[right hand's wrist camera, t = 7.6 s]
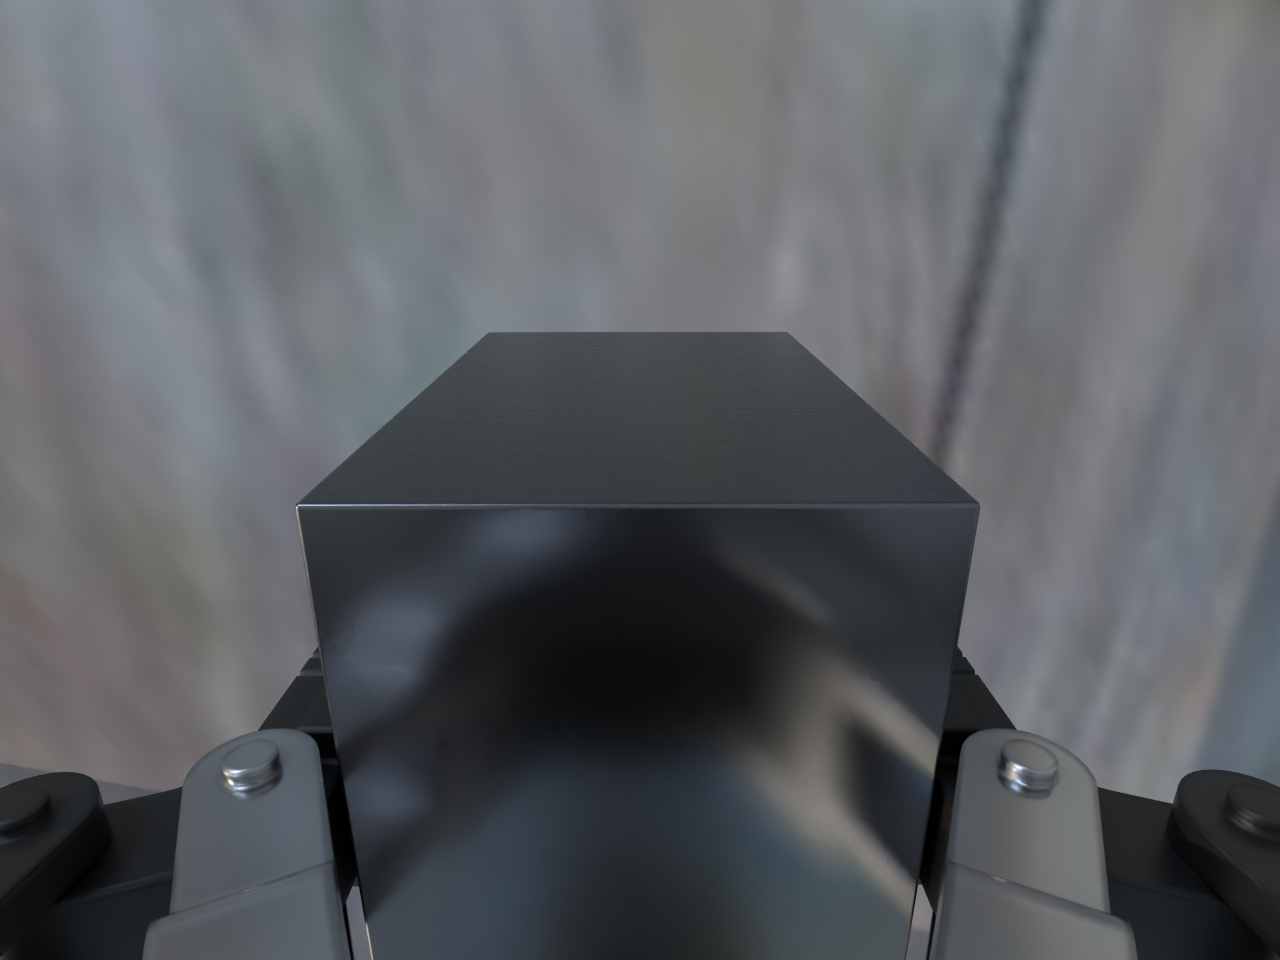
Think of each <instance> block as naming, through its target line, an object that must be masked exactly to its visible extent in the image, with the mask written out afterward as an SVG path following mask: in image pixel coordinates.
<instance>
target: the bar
mask: <svg viewBox="0 0 1280 960" xmlns="http://www.w3.org/2000/svg"><path fill="white" fill-rule="evenodd" d="M979 510H980V506H979V502H977V501H976V500H975V499H974V498H973V497H972V496H971V495H970V494H969V493H967V492H966V491H965V490H964V489H963V488H962V487H961V486H960V485H958V484H957V483H956V482H955V481H954V480H953V479H952V478H951V477H949V476H948V475H947V474H946V473H945V472H944V471H943V470H942V469H940V468H939V467H938V466H937V465H936V464H935V463H934V462H933V461H931V460H930V459H929V458H928V457H927V456H926V455H925V454H924V453H923V452H921V451H920V450H919V449H918V448H917V447H916V446H915V445H914V444H912V443H911V442H910V441H909V440H908V439H907V438H906V437H905V436H903V435H902V434H901V433H900V432H899V431H898V430H897V429H896V428H894V427H893V426H892V425H891V424H890V423H889V422H888V421H887V420H885V419H884V418H883V417H882V416H881V415H880V414H879V413H878V412H876V411H875V410H874V409H873V408H872V407H871V406H870V405H869V404H868V403H866V402H865V401H864V400H863V399H862V398H861V397H860V396H859V395H857V394H856V393H855V392H854V391H853V390H852V389H851V388H850V387H848V386H847V385H846V384H845V383H844V382H843V381H842V380H841V379H839V378H838V377H837V376H836V375H835V374H834V373H833V372H832V371H830V370H829V369H828V368H827V367H826V366H825V365H824V364H823V363H821V362H820V361H819V360H818V359H817V358H816V357H815V356H814V355H813V354H811V353H810V352H809V351H808V350H807V349H806V348H805V347H804V346H802V345H801V344H800V343H799V342H798V341H797V340H796V339H795V338H793V337H792V336H791V335H790V334H789V333H787V332H490V333H488V334H486V335H485V336H484V337H483V338H482V339H481V340H480V341H479V342H477V343H476V344H475V345H474V346H473V347H472V348H471V349H470V350H468V351H467V352H466V353H465V354H464V355H463V356H462V357H461V358H459V359H458V360H457V361H456V362H455V363H454V364H453V365H452V366H450V367H449V368H448V369H447V370H446V371H445V372H444V373H443V374H441V375H440V376H439V377H438V378H437V379H436V380H435V381H434V382H433V383H431V384H430V385H429V386H428V387H427V388H426V389H425V390H424V391H422V392H421V393H420V394H419V395H418V396H417V397H416V398H415V399H413V400H412V401H411V402H410V403H409V404H408V405H407V406H406V407H404V408H403V409H402V410H401V411H400V412H399V413H398V414H397V415H395V416H394V417H393V418H392V419H391V420H390V421H389V422H388V423H386V424H385V425H384V426H383V427H382V428H381V429H380V430H379V431H378V432H376V433H375V434H374V435H373V436H372V437H371V438H370V439H369V440H367V441H366V442H365V443H364V444H363V445H362V446H361V447H360V448H358V449H357V450H356V451H355V452H354V453H353V454H352V455H351V456H349V457H348V458H347V459H346V460H345V461H344V462H343V463H342V464H340V465H339V466H338V467H337V468H336V469H335V470H334V471H333V472H332V473H330V474H329V475H328V476H327V477H326V478H325V479H324V480H323V481H321V482H320V483H319V484H318V485H317V486H316V487H315V488H314V489H312V490H311V491H310V492H309V493H308V494H307V495H306V496H305V497H303V498H302V499H301V500H300V501H299V502H298V503H297V504H296V507H295V512H296V518H297V523H298V529H299V535H300V541H301V547H302V553H303V559H304V565H305V571H306V577H307V582H308V588H309V594H310V600H311V606H312V612H313V618H314V624H315V630H316V635H317V641H318V647H319V653H320V659H321V665H322V671H323V677H324V683H325V689H326V694H327V700H328V706H329V712H330V718H331V724H332V730H333V736H334V742H335V747H336V753H337V759H338V765H339V771H340V777H341V783H342V789H343V795H344V801H345V806H346V812H347V818H348V824H349V830H350V836H351V842H352V848H353V854H354V859H355V865H356V871H357V877H358V883H359V889H360V895H361V901H362V907H363V913H364V918H365V924H366V930H367V936H368V942H369V948H370V954H371V960H906V954H907V948H908V942H909V936H910V930H911V924H912V918H913V912H914V906H915V899H916V893H917V887H918V881H919V875H920V869H921V863H922V857H923V851H924V845H925V839H926V833H927V826H928V820H929V814H930V808H931V802H932V796H933V790H934V784H935V778H936V772H937V766H938V760H939V753H940V747H941V741H942V735H943V729H944V723H945V717H946V711H947V705H948V699H949V693H950V686H951V680H952V674H953V668H954V662H955V656H956V650H957V644H958V638H959V632H960V626H961V620H962V613H963V607H964V601H965V595H966V589H967V583H968V577H969V571H970V565H971V559H972V553H973V546H974V540H975V534H976V528H977V522H978V516H979Z"/></svg>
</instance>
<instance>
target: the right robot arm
mask: <svg viewBox="0 0 1280 960" xmlns="http://www.w3.org/2000/svg"><path fill="white" fill-rule="evenodd" d="M918 884H922V885H923V888H924V890H925V893H926V895H927V898H928V900H929V902H930V905H931V907H932V910H933V911H932V917H931V922H930V928H929V935H928V942H927V949H926V956H925V960H1280V787H1278V786H1275V785H1273V784H1271V783H1268V782H1266V781H1263V780H1260V779H1258V778H1255V777H1252V776H1248V775H1244V774H1240V773H1236V772H1230V771H1224V770H1200V771H1195V772H1192V773H1190V774H1187V775H1186V776H1185V777H1184V778H1182V779H1181V781H1180V783H1179V785H1178V788H1177V792H1176V795H1175V798H1174V802H1173V804H1171V803H1166V802H1161V801H1157V800H1152V799H1148V798H1143V797H1139V796H1134V795H1129V794H1125V793H1120V792H1116V791H1111V790H1107V789H1103V788H1100V787H1097V784H1096V780H1095V778H1094V776H1093V774H1092V772H1091V771H1090V770H1089V769H1088V767H1087V766H1086V765H1085V764H1084V763H1083V762H1082V761H1081V760H1080V759H1079V758H1078V757H1077V756H1075V755H1074V754H1073V753H1071V752H1070V751H1069V750H1067V749H1065V748H1064V747H1062V746H1061V745H1059V744H1057V743H1055V742H1053V741H1051V740H1049V739H1046V738H1044V737H1041V736H1039V735H1035V734H1032V733H1029V732H1024V731H1020V730H1017V729H1016V728H1015V727H1014V725H1013V724H1012V722H1011V721H1010V719H1009V718H1008V717H1007V715H1006V714H1005V712H1004V711H1003V710H1002V708H1001V707H1000V705H999V704H998V703H997V701H996V700H995V698H994V697H993V696H992V694H991V693H990V691H989V690H988V688H987V687H986V686H985V684H984V683H983V681H982V680H981V679H980V677H979V676H978V675H975V670H974V669H973V667H972V666H971V665H970V663H969V662H968V660H967V659H966V657H962V652H961V650H960V649H959V648H958V646H957V650H956V656H955V662H954V668H953V674H952V680H951V686H950V693H949V699H948V705H947V711H946V717H945V723H944V729H943V735H942V741H941V747H940V753H939V760H938V766H937V772H936V778H935V784H934V790H933V796H932V802H931V808H930V814H929V820H928V826H927V833H926V839H925V845H924V851H923V857H922V863H921V869H920V875H919V881H918ZM352 886H359V883H358V877H357V871H356V865H355V859H354V854H353V848H352V842H351V836H350V830H349V824H348V818H347V812H346V806H345V801H344V795H343V789H342V783H341V777H340V771H339V765H338V759H337V753H336V747H335V742H334V736H333V730H332V724H331V718H330V712H329V706H328V700H327V694H326V689H325V683H324V677H323V671H322V665H321V659H320V653H319V647H317V649H316V650H315V652H314V653H313V658H310V659H309V660H308V661H307V663H306V664H305V666H304V667H303V668H302V670H301V671H300V676H297V677H296V678H295V679H294V681H293V682H292V684H291V685H290V686H289V688H288V689H287V691H286V692H285V693H284V695H283V696H282V698H281V699H280V700H279V702H278V703H277V705H276V706H275V707H274V709H273V710H272V712H271V713H270V714H269V716H268V717H267V718H266V720H265V721H264V723H263V724H262V725H261V727H260V728H259V730H258V731H256V732H251V733H248V734H245V735H241V736H239V737H236V738H234V739H231V740H229V741H227V742H225V743H223V744H221V745H219V746H218V747H216V748H215V749H213V750H211V751H210V752H209V753H207V754H206V755H205V756H203V757H202V758H201V759H200V760H199V761H198V762H197V763H196V764H195V765H194V766H193V767H192V769H191V770H190V771H189V772H188V774H187V776H186V778H185V780H184V784H183V786H182V787H180V788H177V789H173V790H169V791H165V792H162V793H157V794H152V795H148V796H143V797H139V798H134V799H130V800H125V801H120V802H116V803H111V804H107V805H104V803H103V800H102V797H101V794H100V790H99V787H98V785H97V783H96V782H95V781H94V780H93V779H92V778H91V777H89V776H86V775H84V774H80V773H75V772H58V773H49V774H43V775H38V776H34V777H31V778H27V779H24V780H21V781H18V782H15V783H12V784H10V785H7V786H5V787H2V788H0V960H355V956H354V949H353V942H352V935H351V929H350V923H349V917H348V911H347V906H346V900H347V898H348V895H349V893H350V890H351V888H352Z"/></svg>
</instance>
